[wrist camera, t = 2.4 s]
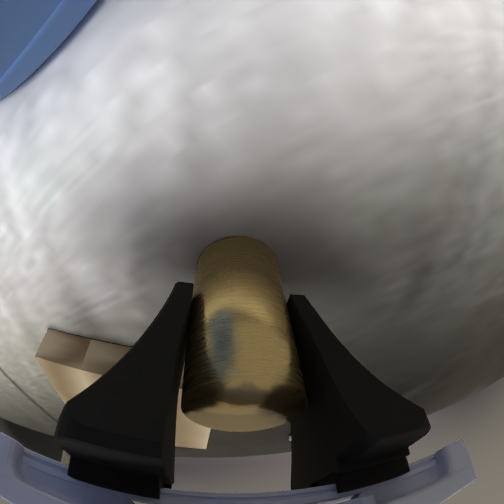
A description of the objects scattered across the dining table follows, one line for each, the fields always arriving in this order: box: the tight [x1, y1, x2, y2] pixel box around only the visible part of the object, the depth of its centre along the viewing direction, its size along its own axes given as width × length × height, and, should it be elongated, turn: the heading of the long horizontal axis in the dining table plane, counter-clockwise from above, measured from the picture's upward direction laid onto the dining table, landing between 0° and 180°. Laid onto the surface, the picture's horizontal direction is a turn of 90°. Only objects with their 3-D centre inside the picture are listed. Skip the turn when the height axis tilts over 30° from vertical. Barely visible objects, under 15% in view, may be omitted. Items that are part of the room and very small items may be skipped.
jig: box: [35, 329, 211, 449], centre depth 18 cm, size 12×12×2 cm
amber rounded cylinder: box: [181, 236, 308, 432], centre depth 11 cm, size 4×4×7 cm
